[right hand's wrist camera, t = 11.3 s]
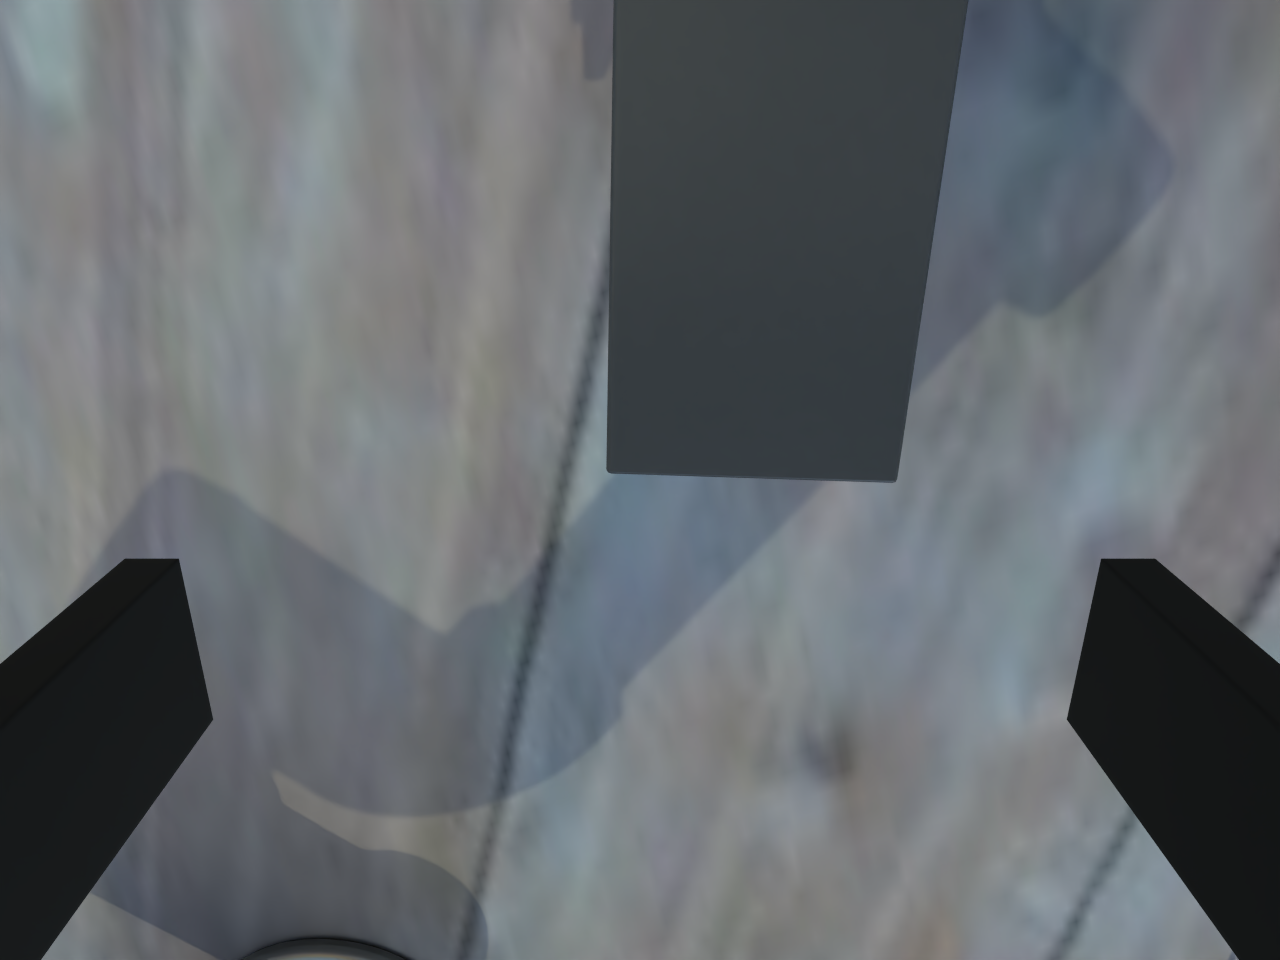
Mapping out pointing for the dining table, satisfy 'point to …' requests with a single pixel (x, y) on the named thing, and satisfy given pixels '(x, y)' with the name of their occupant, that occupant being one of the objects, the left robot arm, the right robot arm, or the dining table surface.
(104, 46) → the dining table surface
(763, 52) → the bar
